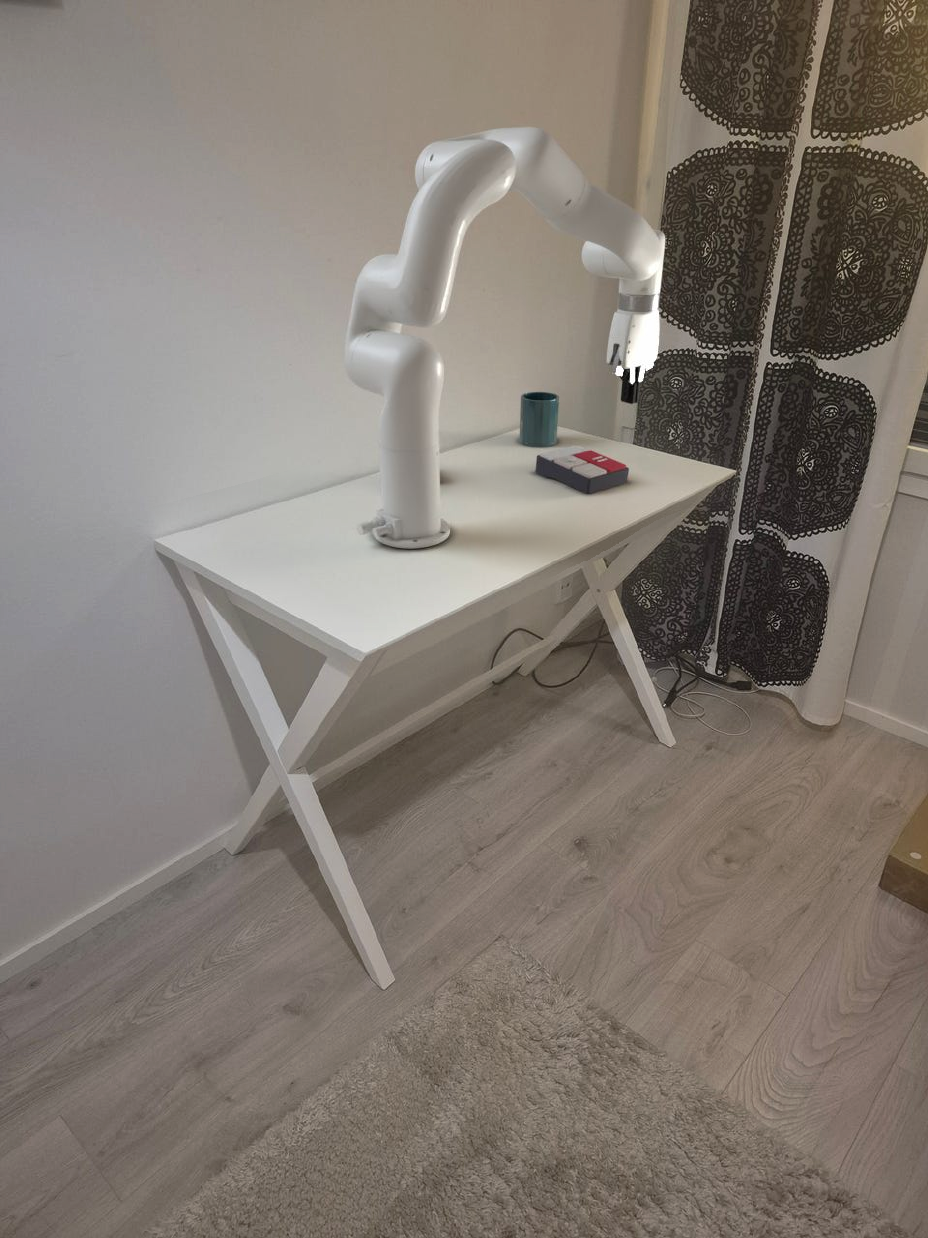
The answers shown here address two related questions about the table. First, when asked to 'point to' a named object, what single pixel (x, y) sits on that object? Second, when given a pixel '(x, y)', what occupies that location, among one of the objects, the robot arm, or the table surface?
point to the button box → (582, 469)
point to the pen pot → (539, 419)
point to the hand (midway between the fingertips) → (629, 401)
